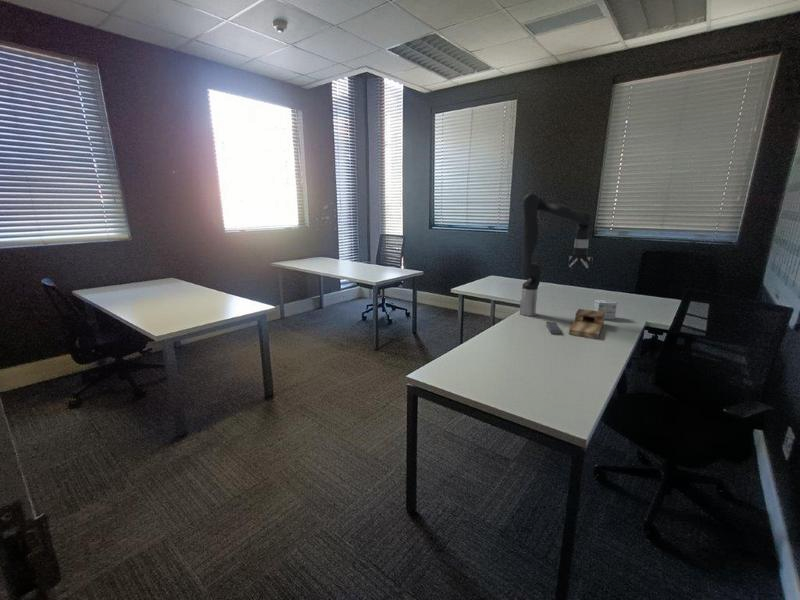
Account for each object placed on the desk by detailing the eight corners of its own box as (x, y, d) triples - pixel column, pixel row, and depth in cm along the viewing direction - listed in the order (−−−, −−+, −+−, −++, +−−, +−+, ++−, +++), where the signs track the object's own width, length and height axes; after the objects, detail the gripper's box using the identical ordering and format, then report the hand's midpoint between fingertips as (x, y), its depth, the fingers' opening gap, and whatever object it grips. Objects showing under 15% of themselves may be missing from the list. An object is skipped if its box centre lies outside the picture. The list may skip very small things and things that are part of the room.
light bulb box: (610, 316, 230) (612, 299, 227) (615, 319, 223) (617, 302, 220) (592, 316, 231) (594, 299, 228) (597, 319, 224) (599, 302, 221)
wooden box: (568, 334, 199) (570, 321, 197) (577, 320, 223) (578, 308, 222) (597, 339, 192) (599, 326, 190) (603, 323, 216) (604, 312, 214)
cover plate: (550, 334, 201) (550, 329, 200) (545, 326, 214) (546, 321, 213) (560, 335, 200) (560, 329, 199) (554, 326, 213) (555, 322, 212)
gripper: (566, 246, 217) (564, 273, 221) (593, 248, 209) (590, 275, 213) (569, 245, 223) (566, 271, 227) (595, 246, 215) (591, 273, 219)
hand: (578, 273), depth 220 cm, fingers open, 8 cm apart
